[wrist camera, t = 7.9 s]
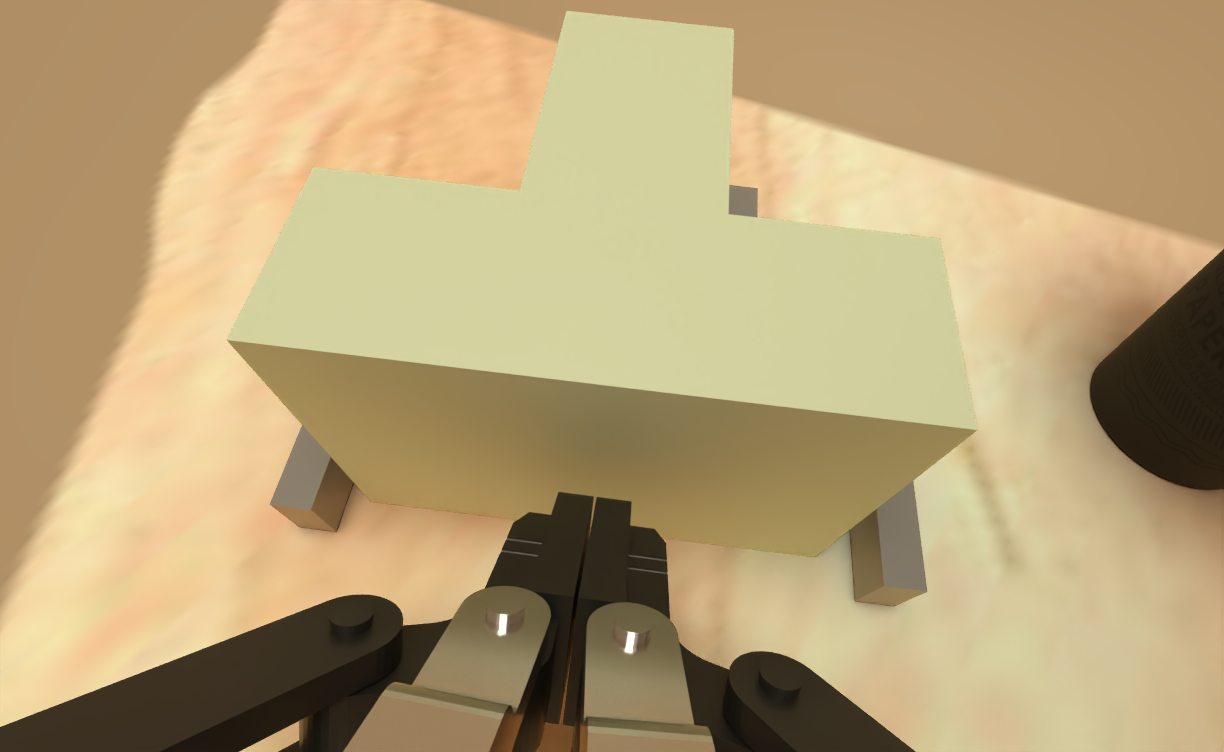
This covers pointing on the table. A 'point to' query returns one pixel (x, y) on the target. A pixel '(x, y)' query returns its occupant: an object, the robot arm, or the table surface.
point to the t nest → (877, 542)
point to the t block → (612, 322)
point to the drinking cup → (1171, 386)
